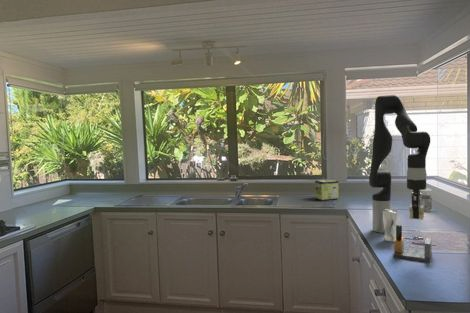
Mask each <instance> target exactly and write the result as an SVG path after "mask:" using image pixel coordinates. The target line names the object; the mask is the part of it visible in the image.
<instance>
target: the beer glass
mask: <svg viewBox="0 0 470 313" xmlns="http://www.w3.org/2000/svg"><path fill="white" fill-rule="evenodd" d="M398 214H399V212H398V210H397V209H391V208H390V209H386V210H383V224H384V230H385V233H384V237H383V240H384V241H385V242H391V243H394V240H395V238H396V225H399V224H398V223H399V215H398Z"/></svg>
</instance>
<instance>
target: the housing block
mask: <svg viewBox="0 0 470 313" xmlns="http://www.w3.org/2000/svg"><path fill="white" fill-rule="evenodd" d="M414 206H417V205H414ZM424 206H425V205H424ZM424 206H419V218H418V219H416V218H413V209H412V204H410V206H409V219H411V220H422V221H423V220H424V218H425V217H424V213H425V212H424Z"/></svg>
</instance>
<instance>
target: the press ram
mask: <svg viewBox="0 0 470 313" xmlns="http://www.w3.org/2000/svg"><path fill="white" fill-rule="evenodd" d="M404 238H405V237H403V226H402V225H400V224H398V225H396V238H395V240H394V242H393V253H394V252H399V253H402V251H403V249H404V247H405V246H404V245H405V244H404V242H405V241H404Z"/></svg>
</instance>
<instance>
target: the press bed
mask: <svg viewBox="0 0 470 313" xmlns="http://www.w3.org/2000/svg"><path fill="white" fill-rule="evenodd" d="M392 257H393V258H395V259H403V260H409V261H417V262H423V263H431V257H432V237H428V236H427V237H426V238H425V241H424V249H421V248H413V247H406V246H404V249H403V251H402V253H399V252H394V251H393V255H392Z"/></svg>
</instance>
